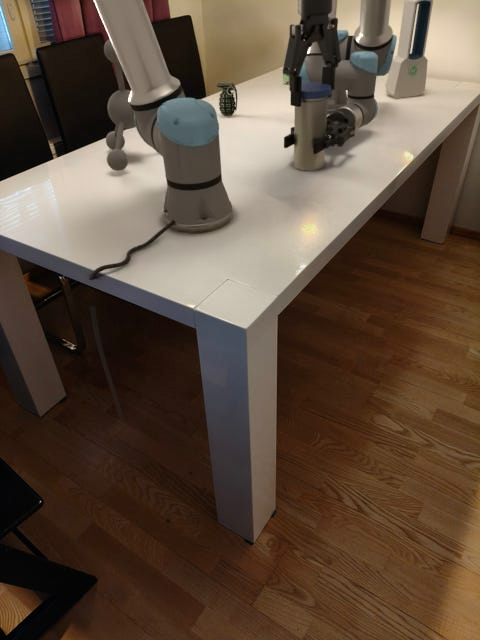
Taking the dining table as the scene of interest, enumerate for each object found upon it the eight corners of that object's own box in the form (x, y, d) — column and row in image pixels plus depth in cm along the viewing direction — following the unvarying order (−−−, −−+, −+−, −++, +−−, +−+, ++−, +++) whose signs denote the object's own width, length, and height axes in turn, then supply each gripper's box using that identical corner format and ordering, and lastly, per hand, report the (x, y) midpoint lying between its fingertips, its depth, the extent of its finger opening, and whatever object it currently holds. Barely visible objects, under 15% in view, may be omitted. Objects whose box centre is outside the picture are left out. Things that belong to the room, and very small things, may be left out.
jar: (330, 165, 128) (335, 91, 117) (307, 173, 125) (310, 97, 114) (309, 157, 134) (312, 86, 122) (287, 164, 130) (288, 91, 119)
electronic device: (393, 98, 176) (407, -1, 157) (383, 94, 181) (395, -2, 163) (424, 94, 178) (441, -4, 160) (413, 90, 184) (428, -5, 165)
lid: (337, 95, 116) (337, 88, 115) (303, 101, 114) (303, 93, 113) (319, 88, 123) (319, 80, 122) (286, 92, 121) (286, 85, 120)
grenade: (217, 117, 168) (214, 86, 162) (221, 112, 172) (219, 82, 166) (235, 117, 166) (233, 86, 160) (239, 113, 171) (238, 82, 165)
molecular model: (191, 162, 134) (177, 38, 116) (111, 177, 129) (83, 48, 110) (169, 138, 152) (153, 27, 134) (98, 150, 146) (72, 36, 128)
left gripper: (291, -2, 98) (290, 114, 111) (362, -12, 109) (353, 93, 123) (265, -3, 102) (267, 108, 116) (336, -13, 114) (329, 89, 127)
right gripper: (376, 141, 133) (335, 167, 119) (310, 130, 144) (266, 153, 130) (379, 112, 129) (338, 136, 115) (311, 103, 139) (265, 124, 125)
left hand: (311, 100), depth 119 cm, fingers open, 10 cm apart
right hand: (299, 145), depth 122 cm, fingers closed on jar, 8 cm apart
